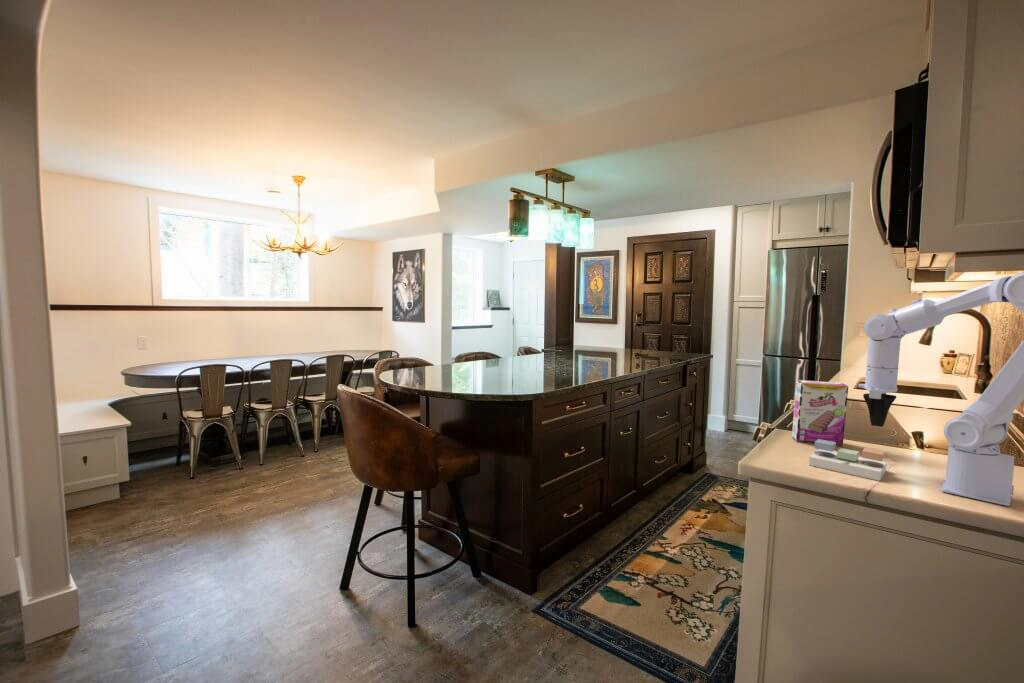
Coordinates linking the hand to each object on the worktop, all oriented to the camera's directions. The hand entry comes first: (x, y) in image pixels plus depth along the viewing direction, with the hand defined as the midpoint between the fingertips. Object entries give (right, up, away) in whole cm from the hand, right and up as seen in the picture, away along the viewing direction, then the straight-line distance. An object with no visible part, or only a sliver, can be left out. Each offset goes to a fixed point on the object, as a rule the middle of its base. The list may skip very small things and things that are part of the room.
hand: (877, 425), depth 108 cm
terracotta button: (-5, -6, -5) cm, 9 cm away
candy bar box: (-1, -8, +19) cm, 21 cm away
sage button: (-8, -7, -2) cm, 11 cm away
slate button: (-11, -6, +2) cm, 12 cm away
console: (-8, -9, -1) cm, 12 cm away
